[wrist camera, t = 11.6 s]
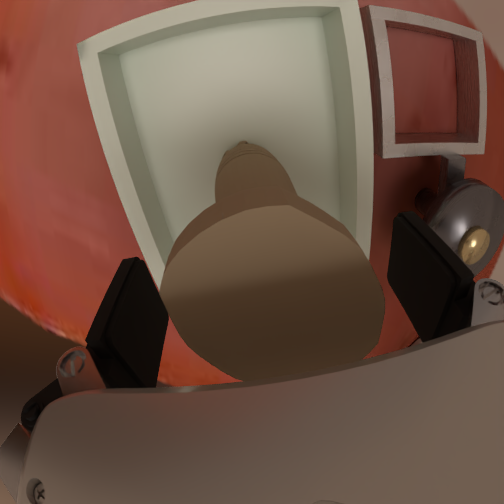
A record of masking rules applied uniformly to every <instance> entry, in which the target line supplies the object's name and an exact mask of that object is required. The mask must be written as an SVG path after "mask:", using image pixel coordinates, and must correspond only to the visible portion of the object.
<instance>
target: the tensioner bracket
mask: <svg viewBox="0 0 504 504" xmlns="http://www.w3.org/2000/svg"><path fill="white" fill-rule="evenodd" d="M359 11H360V16H361V22H362V27H363V33H364V40H365V46H366V54H367V62H368V70H369V80H370V91H371V104H372V120H373V150H374V153H375V154H377V155H378V156H380V157H382V158H395V157H410V156H427V155H441V165H440V175H439V185H438V193H437V194H436V193H435V192H434V191H432V190H431V189H429V188H425V189H423V190H421V191H420V192H419V193H418V194H417V196H416V199H415V206H416V208H417V209H418V210H419V211H420V212H421V213H422V214H423V215H424V218H423V221H424V222H425V223H426V224H427V225H428V226H429V227H430V228H431V229H432V230H433V231H434V232H435V233H436V234H437V235H438V236H439V237H440V238H441V239H442V240H443V241H444V242H445V243H446V244H447V245H448V246H449V247H450V248H451V249H452V250H453V251H454V252H455V254H456V255H457V256H458V257H459V258H460V259H461V260H462V261H463V262H464V263H465V265H466V266H467V267H468V268H469V269H470V270H471V271H472V273H473V274H474V277H475V276H476V275H477V274H478V273H479V272H480V271H481V270H482V269H483V268H484V267H485V266H486V265H487V264H488V263H489V261H490V260H491V258H492V257H493V255H494V254H495V252H496V250H497V249H498V247H499V244H500V242H501V240H502V237H503V234H504V201H503V199H502V197H501V196H500V195H499V194H498V193H497V192H496V191H495V190H493V189H492V188H490V187H489V186H487V185H486V184H485V183H483V182H482V181H480V180H477V179H473V178H468V179H464V172H465V163H466V158H464V157H462V156H460V155H459V154H484V149H485V137H486V117H487V84H486V66H485V54H484V45H483V37H482V32H479V31H476V30H474V29H471V28H468V27H465V26H462V25H459V24H456V23H453V22H449V21H446V20H443V19H439V18H435V17H431V16H427V15H423V14H419V13H414V12H409V11H404V10H399V9H393V8H387V7H380V6H373V5H368V6H365V7H362V8H360V9H359ZM386 27H392V28H399V29H405V30H411V31H417V32H422V33H427V34H432V35H436V36H440V37H445V38H449V39H452V40H453V42H454V50H455V60H456V73H457V97H458V118H457V133H395V114H394V94H393V80H392V69H391V60H390V52H389V44H388V37H387V31H386Z"/></svg>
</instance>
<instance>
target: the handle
mask: <svg viewBox="0 0 504 504" xmlns="http://www.w3.org/2000/svg"><path fill="white" fill-rule="evenodd" d="M215 202H216V203H214V204H213V205H211V206H210V207H208V208H206V209H205V210H204V211H202V212H201V213H200V214H199V215H198V216H197V217H196V218H194V219H193V220H192V221H191V222H190V223H189V224H188V225H187V226H186V227H185V229H184V230H183V231H182V232H181V234H180V235H179V236H178V237H177V239H176V241H175V243H174V245H173V247H172V249H171V252H170V254H169V256H168V259H167V263H166V266H165V270H164V273H163V277H162V281H161V286H160V290H159V294H160V296H161V299H162V301H163V303H164V305H165V307H166V310H167V312H168V314H169V316H170V318H171V320H172V322H173V324H174V326H175V328H176V329H177V331H178V333H179V335H180V336H181V338H182V339H183V340H184V342H185V343H186V344H187V346H188V347H189V348H191V349H192V350H193V351H194V352H195V353H196V354H198V355H199V356H200V357H202V358H203V359H204V360H206V361H207V362H209V363H210V364H212V365H213V366H215V367H216V368H218V369H219V370H221V371H222V372H224V373H226V374H228V375H230V376H232V377H234V378H236V379H239V380H242V381H251V380H259V379H266V378H273V377H280V376H286V375H292V374H298V373H304V372H309V371H314V370H319V369H324V368H329V367H334V366H338V365H343V364H347V363H352V362H356V361H360V360H362V359H363V358H364V357H365V356H366V355H367V354H368V353H370V352H371V351H372V349H373V348H374V347H375V346H376V345H377V344H378V341H379V337H380V333H381V329H382V324H383V319H384V314H385V297H384V294H383V290H382V287H381V285H380V283H379V281H378V279H377V277H376V274H375V272H374V270H373V268H372V266H371V264H370V262H369V260H368V259H367V257H366V256H365V254H364V252H363V250H362V249H361V247H360V246H359V244H358V243H357V241H356V240H355V238H354V237H353V236H352V235H351V233H350V232H349V231H348V229H347V228H346V227H345V226H344V225H343V224H342V223H341V222H339V221H338V220H336V219H335V218H334V217H332V216H331V215H329V214H328V213H326V212H325V211H323V210H322V209H320V208H319V207H317V206H315V205H314V204H312V203H310V202H309V201H307V200H305V199H303V198H301V197H299V196H298V195H297V193H296V190H295V188H294V186H293V184H292V182H291V180H290V177H289V175H288V174H287V172H286V170H285V169H284V167H283V166H282V165H281V163H280V162H279V161H278V160H277V159H276V158H275V157H274V156H273V155H272V154H271V153H270V152H269V151H268V150H266V149H265V148H263V147H261V146H259V145H255V144H249V143H248V142H247V141H240V142H239V143H238V144H237V146H235V147H234V148H232V149H231V150H227V151H226V152H225V153H224V155H223V157H222V160H221V162H220V164H219V167H218V170H217V174H216V179H215Z"/></svg>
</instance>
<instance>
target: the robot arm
mask: <svg viewBox="0 0 504 504" xmlns="http://www.w3.org/2000/svg"><path fill="white" fill-rule="evenodd" d="M387 278H388V282H389V284H390V286H391V288H392V289H393V291H394V293H395V294H396V296H397V298H398V299H399V301H400V303H401V305H402V306H403V308H404V310H405V312H406V313H407V315H408V317H409V319H410V320H411V322H412V324H413V326H414V328H415V330H416V331H417V333H418V335H419V337H420V338H419V339H418V340H417V341H416V342H414V343H413V344H412V345H411V346H410V347H407V348H404V349H401V350H397V351H394V352H390V353H387V354H383V355H380V356H376V357H372V358H368V359H364V360H360V361H356V362H352V363H347V364H343V365H338V366H334V367H329V368H324V369H319V370H314V371H309V372H304V373H298V374H292V375H286V376H280V377H273V378H266V379H259V380H251V381H243V382H234V383H224V384H213V385H200V386H183V387H160V388H156V383H157V377H158V372H159V366H160V361H161V356H162V350H163V345H164V340H165V335H166V330H167V326H168V321H169V315H168V312H167V310H166V307H165V305H164V303H163V301H162V299H161V297H160V295H159V293H158V290H157V288H156V286H155V284H154V282H153V280H152V277H151V275H150V273H149V271H148V268H147V266H146V264H145V262H144V261H143V260H140V259H139V258H138V257H133V258H128V259H123V260H122V262H121V264H120V266H119V268H118V270H117V272H116V274H115V276H114V278H113V280H112V282H111V284H110V286H109V288H108V290H107V292H106V294H105V296H104V298H103V301H102V303H101V305H100V307H99V309H98V312H97V314H96V316H95V318H94V321H93V323H92V325H91V328H90V330H89V332H88V335H87V337H86V340H85V341H86V342H87V343H88V344H87V346H86V348H84V347H75V348H72V349H70V350H68V351H67V352H66V353H64V354H63V356H62V357H61V358H60V359H59V361H58V364H57V368H56V372H57V377H58V378H57V379H56V380H54V381H53V382H52V383H50V384H49V385H48V386H47V387H45V388H44V389H43V390H42V391H40V392H39V393H38V394H36V395H35V396H34V397H32V398H31V399H30V400H29V401H28V402H27V403H26V404H25V406H24V407H23V410H22V413H21V421H22V425H21V424H19V423H18V424H17V425H16V426H15V428H14V429H13V430H12V432H11V433H10V434H9V436H8V437H7V438H6V440H5V441H4V443H3V444H2V445H1V447H0V478H1V479H2V481H3V483H4V485H5V486H6V488H7V489H8V491H9V492H10V494H11V495H12V497H13V499H14V500H15V502H16V503H17V504H504V286H503V285H502V284H501V283H499V282H498V281H496V280H493V279H488V278H485V279H481V280H478V282H477V283H475V282H474V281H473V278H474V274H473V273H472V271H471V270H470V269H469V268H468V267H467V266H466V265H465V263H464V262H463V261H462V260H461V259H460V258H459V257H458V256H457V255H456V254H455V252H454V251H453V250H452V249H451V248H450V247H449V246H448V245H447V244H446V243H445V242H444V241H443V240H442V239H441V238H440V237H439V236H438V235H437V234H436V233H435V232H434V231H433V230H432V229H431V228H430V227H429V226H428V225H427V224H426V223H425V222H424V221H423V220H422V219H421V218H420V217H419V216H418V215H417V214H416V213H415V212H413V211H409V212H402V213H399V214H398V215H397V217H395V218H394V221H393V232H392V242H391V250H390V258H389V266H388V273H387Z"/></svg>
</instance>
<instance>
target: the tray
mask: <svg viewBox="0 0 504 504" xmlns="http://www.w3.org/2000/svg"><path fill="white" fill-rule="evenodd" d="M77 49H78V54H79V59H80V64H81V68H82V73H83V77H84V82H85V86H86V90H87V94H88V98H89V102H90V106H91V109H92V113H93V117H94V120H95V124H96V127H97V131H98V134H99V137H100V141H101V144H102V147H103V150H104V153H105V156H106V159H107V162H108V165H109V168H110V171H111V174H112V177H113V180H114V183H115V186H116V188H117V191H118V194H119V197H120V199H121V202H122V204H123V207H124V210H125V212H126V215H127V217H128V220H129V222H130V225H131V227H132V230H133V232H134V235H135V237H136V239H137V242H138V244H139V246H140V249H141V251H142V253H143V256H144V258H145V260H146V262H147V265H148V267H149V269H150V271H151V274H152V276H153V278H154V280H155V282H156V284H157V286H158V288H159V290H160V286H161V281H162V277H163V273H164V270H165V266H166V263H167V259H168V256H169V254H170V252H171V249H172V247H173V245H174V243H175V241H176V239H177V237H178V236H179V235H180V234H181V232H182V231H183V230H184V229H185V227H186V226H187V225H188V224H189V223H190V222H191V221H192V220H193V219H194V218H196V217H197V216H198V215H199V214H200V213H201V212H202V211H204V210H205V209H206V208H208V207H210V206H211V205H213V204H214V203H216V202H215V179H216V174H217V170H218V167H219V164H220V162H221V160H222V157H223V155H224V153H225V152H226V151H227V150H231V149H232V148H234V147H235V146H237V144H238V143H239V142H240V141H247V142H248V143H249V144H255V145H259V146H261V147H263V148H265V149H266V150H268V151H269V152H270V153H271V154H272V155H273V156H274V157H275V158H276V159H277V160H278V161H279V162H280V163H281V165H282V166H283V167H284V169H285V170H286V172H287V174H288V175H289V177H290V180H291V182H292V184H293V186H294V188H295V190H296V193H297V195H298V196H299V197H301V198H303V199H305V200H307V201H309V202H310V203H312V204H314V205H315V206H317V207H319V208H320V209H322V210H323V211H325V212H326V213H328V214H329V215H331V216H332V217H334V218H335V219H336V220H338V221H339V222H341V223H342V224H343V225H344V226H345V227H346V228H347V229H348V231H349V232H350V233H351V235H352V236H353V237H354V238H355V240H356V241H357V243H358V244H359V246H360V247H361V249H362V250H363V252H364V254H365V256H366V257H367V259H368V260H369V255H370V243H371V229H372V212H373V181H374V150H373V120H372V104H371V91H370V80H369V70H368V62H367V54H366V46H365V40H364V33H363V27H362V22H361V16H360V11H359V6H358V1H357V0H198V1H194V2H190V3H185V4H181V5H178V6H174V7H170V8H167V9H163V10H160V11H157V12H154V13H150V14H147V15H144V16H141V17H139V18H136V19H133V20H130V21H128V22H125V23H122V24H120V25H117V26H115V27H113V28H110V29H108V30H105V31H103V32H101V33H99V34H97V35H94V36H92V37H90V38H88V39H86V40H84V41H82V42H80V43H78V44H77Z"/></svg>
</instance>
